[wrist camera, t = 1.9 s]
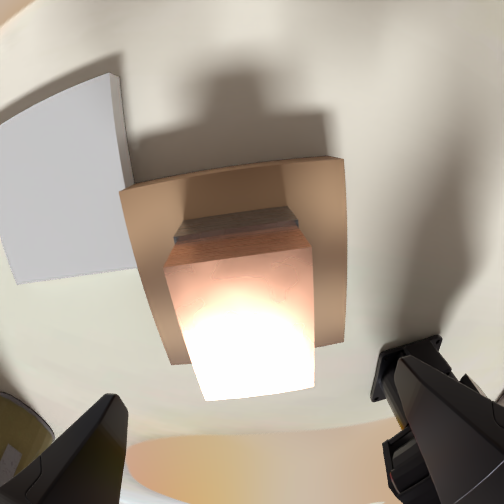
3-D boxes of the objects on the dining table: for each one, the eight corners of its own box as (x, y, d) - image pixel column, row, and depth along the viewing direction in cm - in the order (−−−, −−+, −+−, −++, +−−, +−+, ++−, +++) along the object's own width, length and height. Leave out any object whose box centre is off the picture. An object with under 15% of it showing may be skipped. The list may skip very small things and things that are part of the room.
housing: (296, 325, 16) (316, 388, 12) (210, 337, 16) (204, 403, 12) (287, 205, 14) (314, 240, 9) (183, 220, 14) (158, 262, 9)
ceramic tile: (151, 256, 17) (144, 266, 15) (27, 275, 17) (16, 284, 15) (119, 77, 13) (109, 72, 11) (-6, 135, 13) (-19, 137, 11)
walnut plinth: (332, 319, 19) (343, 341, 17) (176, 340, 19) (171, 364, 17) (327, 156, 15) (343, 158, 13) (134, 183, 15) (118, 191, 13)
